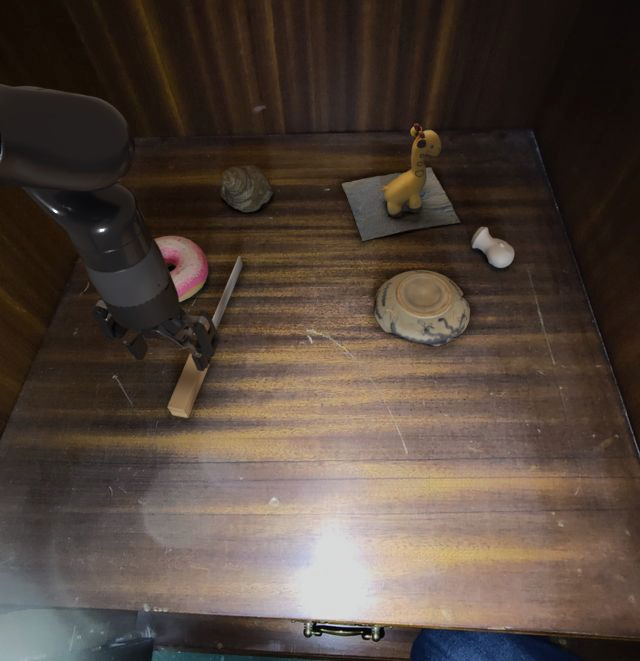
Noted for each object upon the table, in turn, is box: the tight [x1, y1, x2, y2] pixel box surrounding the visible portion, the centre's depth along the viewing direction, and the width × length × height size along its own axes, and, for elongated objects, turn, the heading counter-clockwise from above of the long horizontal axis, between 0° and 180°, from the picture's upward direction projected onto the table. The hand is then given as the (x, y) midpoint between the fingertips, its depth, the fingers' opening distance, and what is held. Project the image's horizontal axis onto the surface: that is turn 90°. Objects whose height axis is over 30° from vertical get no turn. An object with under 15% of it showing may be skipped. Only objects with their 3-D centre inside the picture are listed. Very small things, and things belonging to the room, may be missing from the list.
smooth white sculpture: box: [470, 226, 515, 269], centre depth 86 cm, size 4×8×5 cm
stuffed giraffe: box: [341, 123, 461, 242], centre depth 90 cm, size 16×18×16 cm
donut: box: [154, 235, 209, 303], centre depth 85 cm, size 14×13×5 cm
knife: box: [167, 255, 244, 419], centre depth 79 cm, size 29×2×3 cm, turn 168°
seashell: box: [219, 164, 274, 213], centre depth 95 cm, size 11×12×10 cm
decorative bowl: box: [373, 269, 471, 347], centre depth 80 cm, size 15×4×15 cm
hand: (173, 359), depth 68 cm, fingers open, 8 cm apart
